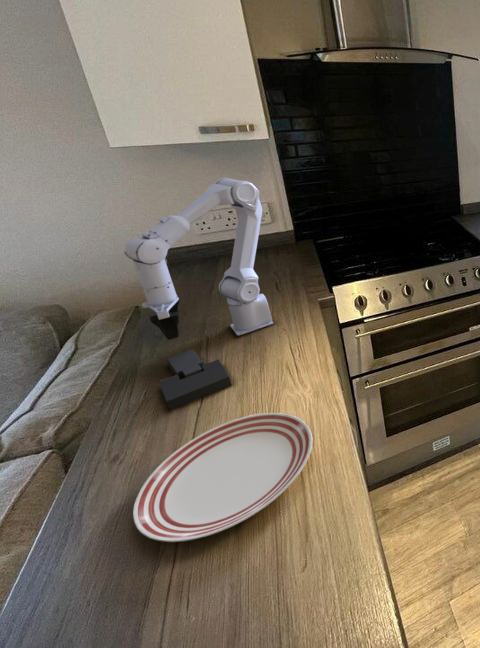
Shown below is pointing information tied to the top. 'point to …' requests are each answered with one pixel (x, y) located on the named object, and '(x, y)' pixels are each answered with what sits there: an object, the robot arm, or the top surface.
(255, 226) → the robot arm
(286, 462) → the dinner plate
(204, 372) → the notch pad
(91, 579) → the top surface
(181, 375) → the tongue pad
